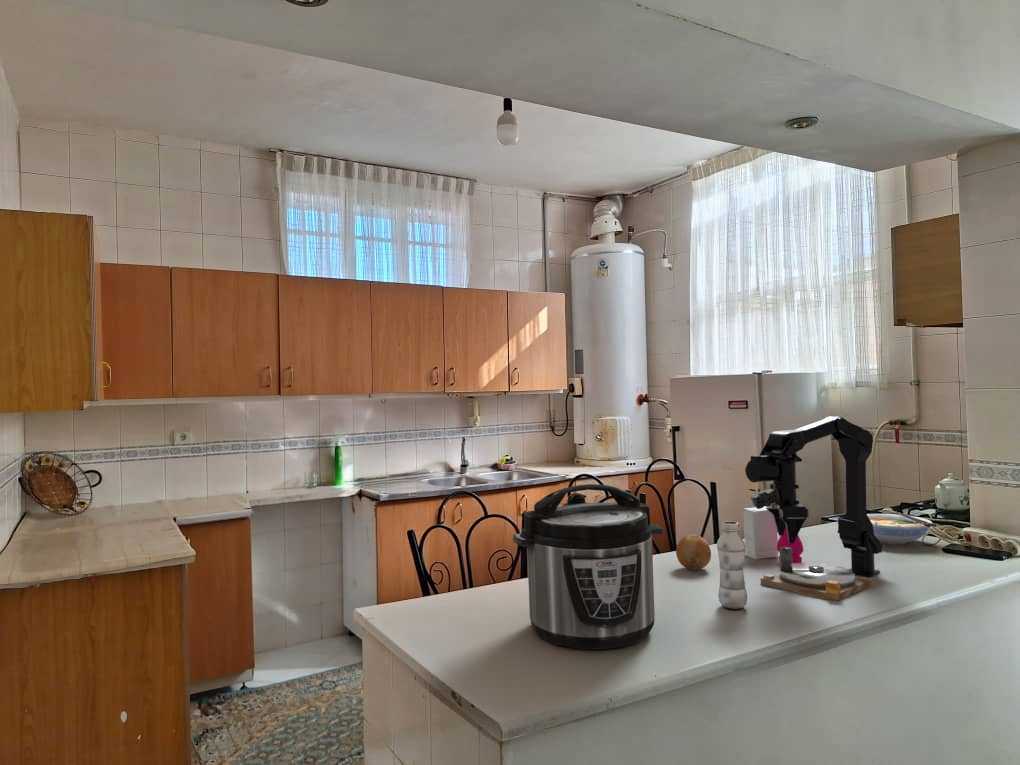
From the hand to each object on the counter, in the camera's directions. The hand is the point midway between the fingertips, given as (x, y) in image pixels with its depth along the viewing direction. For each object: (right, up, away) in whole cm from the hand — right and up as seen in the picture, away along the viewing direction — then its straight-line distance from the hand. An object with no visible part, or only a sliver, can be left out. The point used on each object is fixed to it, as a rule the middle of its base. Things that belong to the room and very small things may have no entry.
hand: (786, 539), depth 180 cm
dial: (+8, -10, -1) cm, 13 cm away
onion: (-20, -13, +17) cm, 29 cm away
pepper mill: (+10, -12, +22) cm, 27 cm away
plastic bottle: (-20, -12, -18) cm, 29 cm away
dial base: (+8, -12, -1) cm, 14 cm away
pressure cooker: (-55, -13, -32) cm, 65 cm away
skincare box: (+4, -12, +30) cm, 33 cm away
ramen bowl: (+53, -12, +45) cm, 70 cm away
